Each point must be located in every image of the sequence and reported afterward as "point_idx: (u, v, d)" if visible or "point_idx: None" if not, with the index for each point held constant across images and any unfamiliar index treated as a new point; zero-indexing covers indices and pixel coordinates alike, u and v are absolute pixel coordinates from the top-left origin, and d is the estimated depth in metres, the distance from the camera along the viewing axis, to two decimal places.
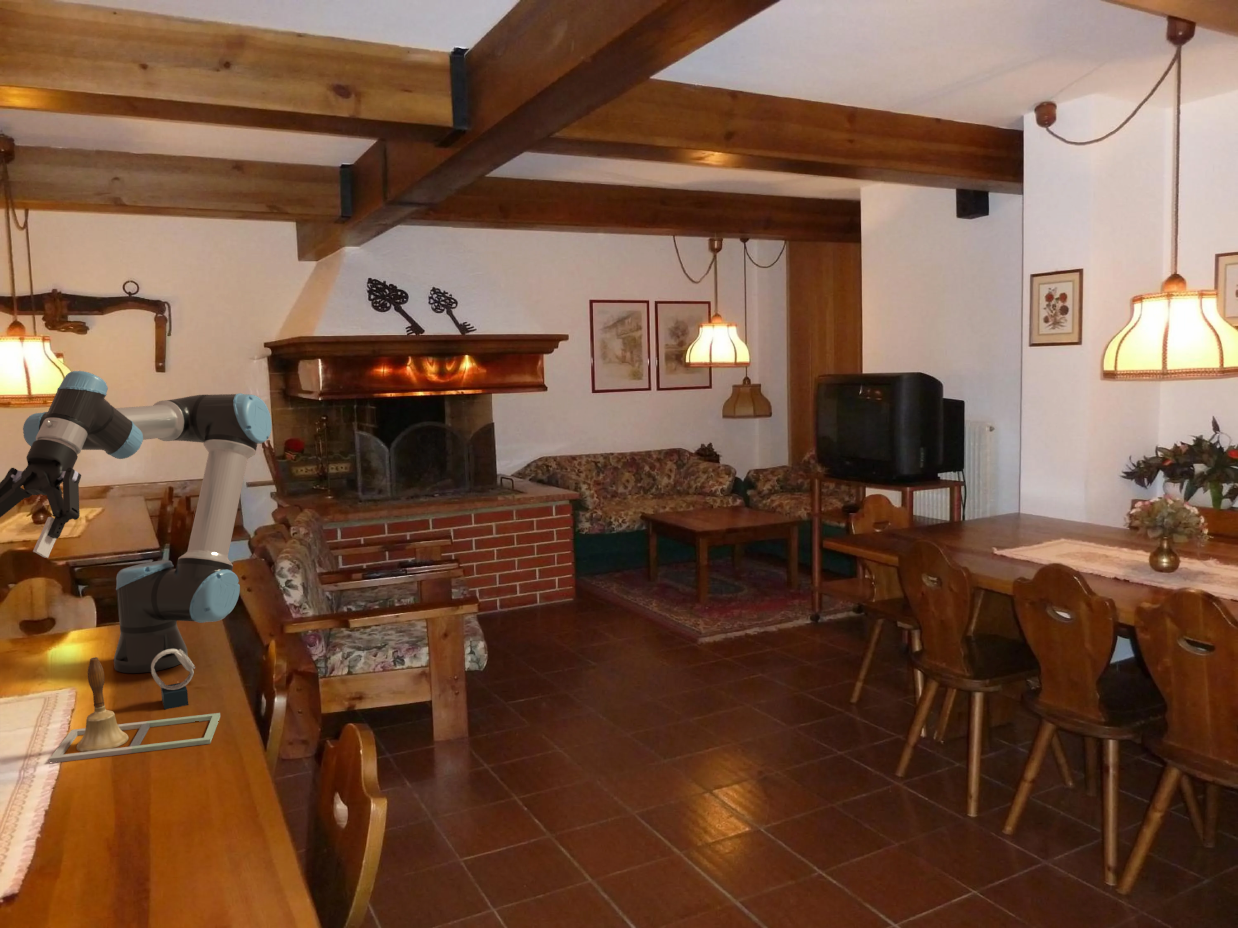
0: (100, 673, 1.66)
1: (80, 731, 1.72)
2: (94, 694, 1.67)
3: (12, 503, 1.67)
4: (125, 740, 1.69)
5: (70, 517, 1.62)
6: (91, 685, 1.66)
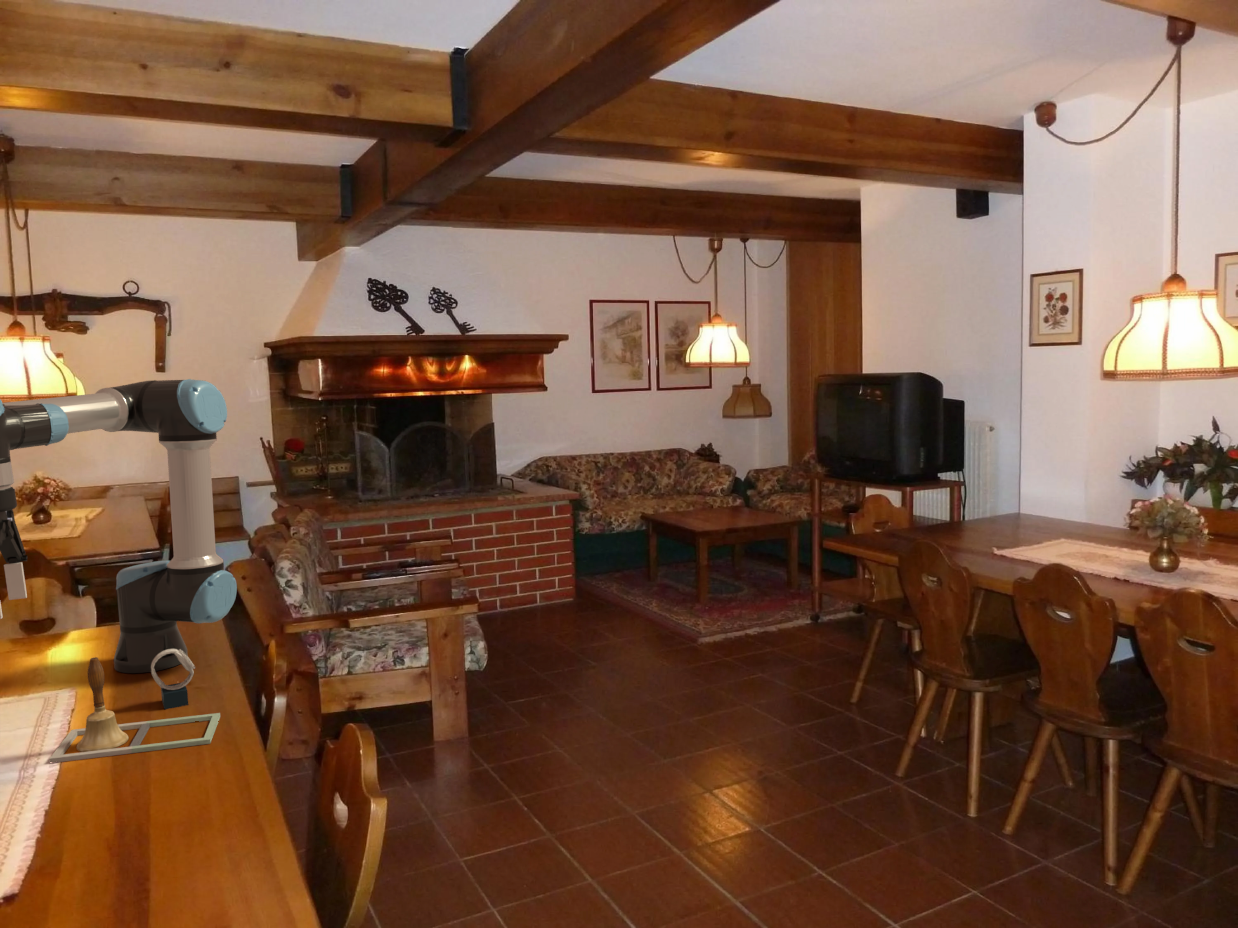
0: (100, 673, 1.66)
1: (80, 731, 1.72)
2: (94, 694, 1.67)
3: (9, 546, 1.65)
4: (125, 740, 1.69)
5: None
6: (91, 685, 1.66)
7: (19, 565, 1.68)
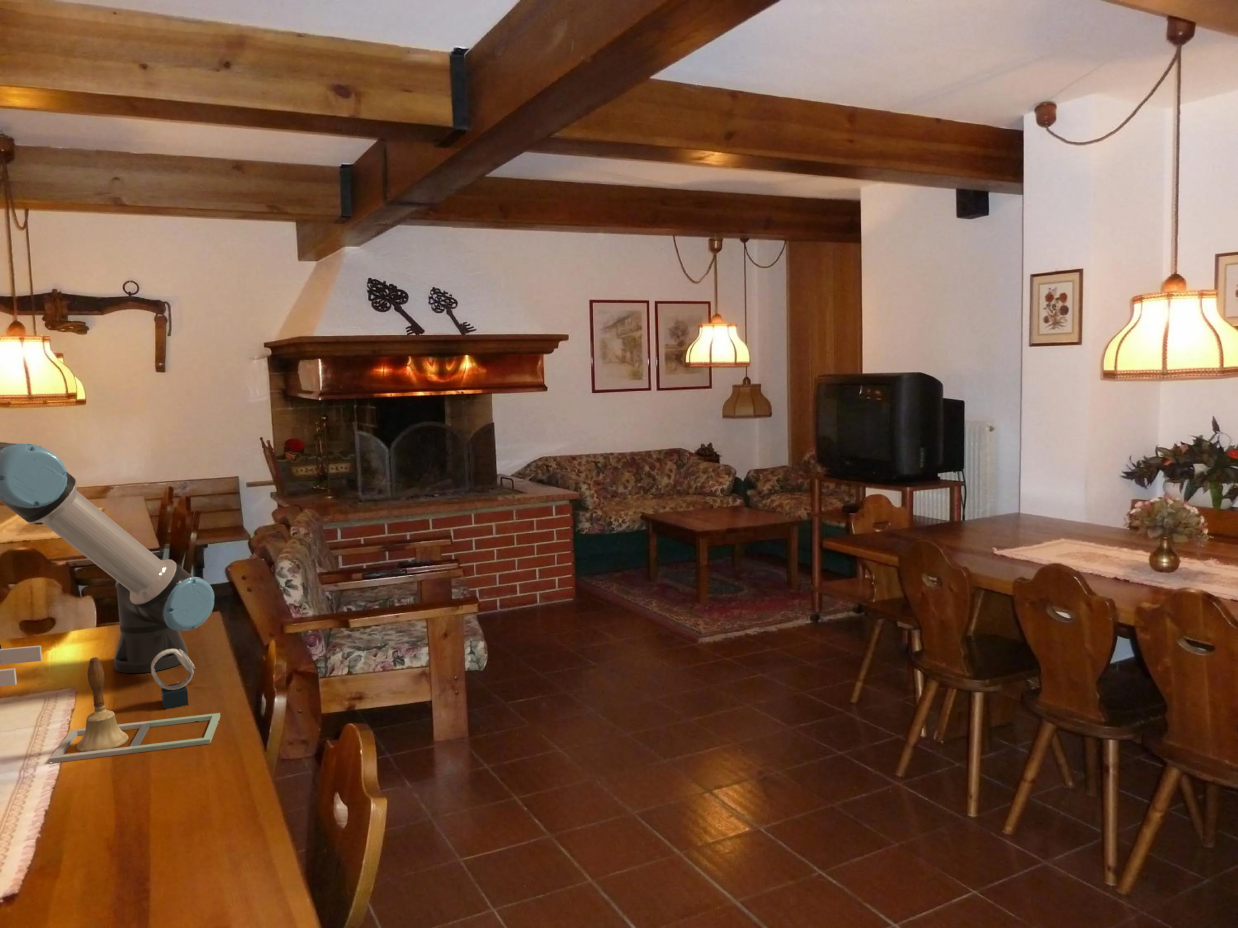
0: (100, 673, 1.66)
1: (80, 731, 1.72)
2: (94, 694, 1.67)
3: None
4: (125, 740, 1.69)
5: None
6: (91, 685, 1.66)
7: (1, 651, 1.68)
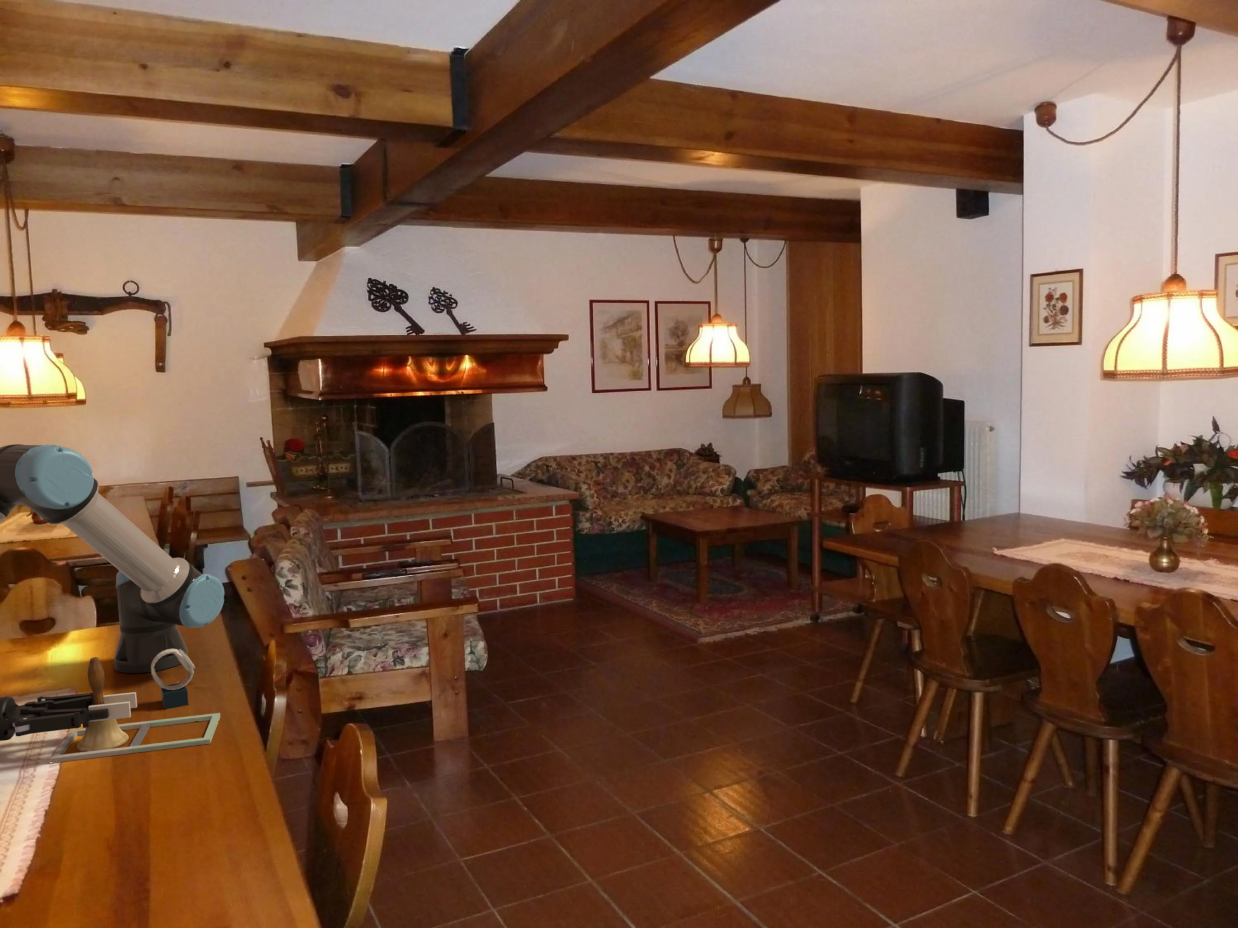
0: (100, 673, 1.66)
1: (80, 731, 1.72)
2: (94, 694, 1.67)
3: (67, 705, 1.68)
4: (125, 740, 1.69)
5: (81, 718, 1.62)
6: (91, 685, 1.66)
7: None
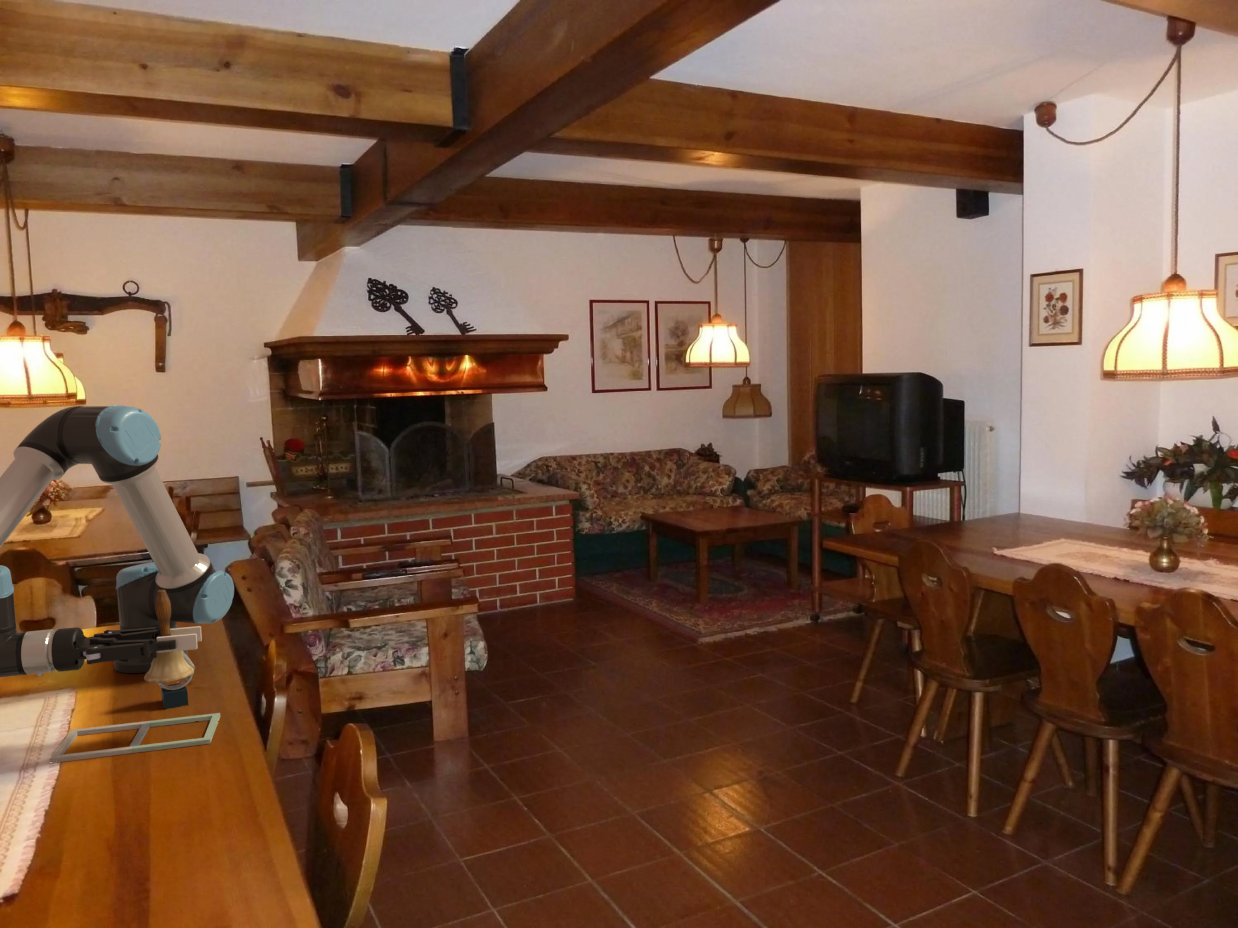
0: (167, 605, 1.68)
1: (80, 731, 1.72)
2: (161, 626, 1.68)
3: (134, 637, 1.70)
4: (191, 672, 1.70)
5: (150, 648, 1.64)
6: (159, 617, 1.68)
7: None
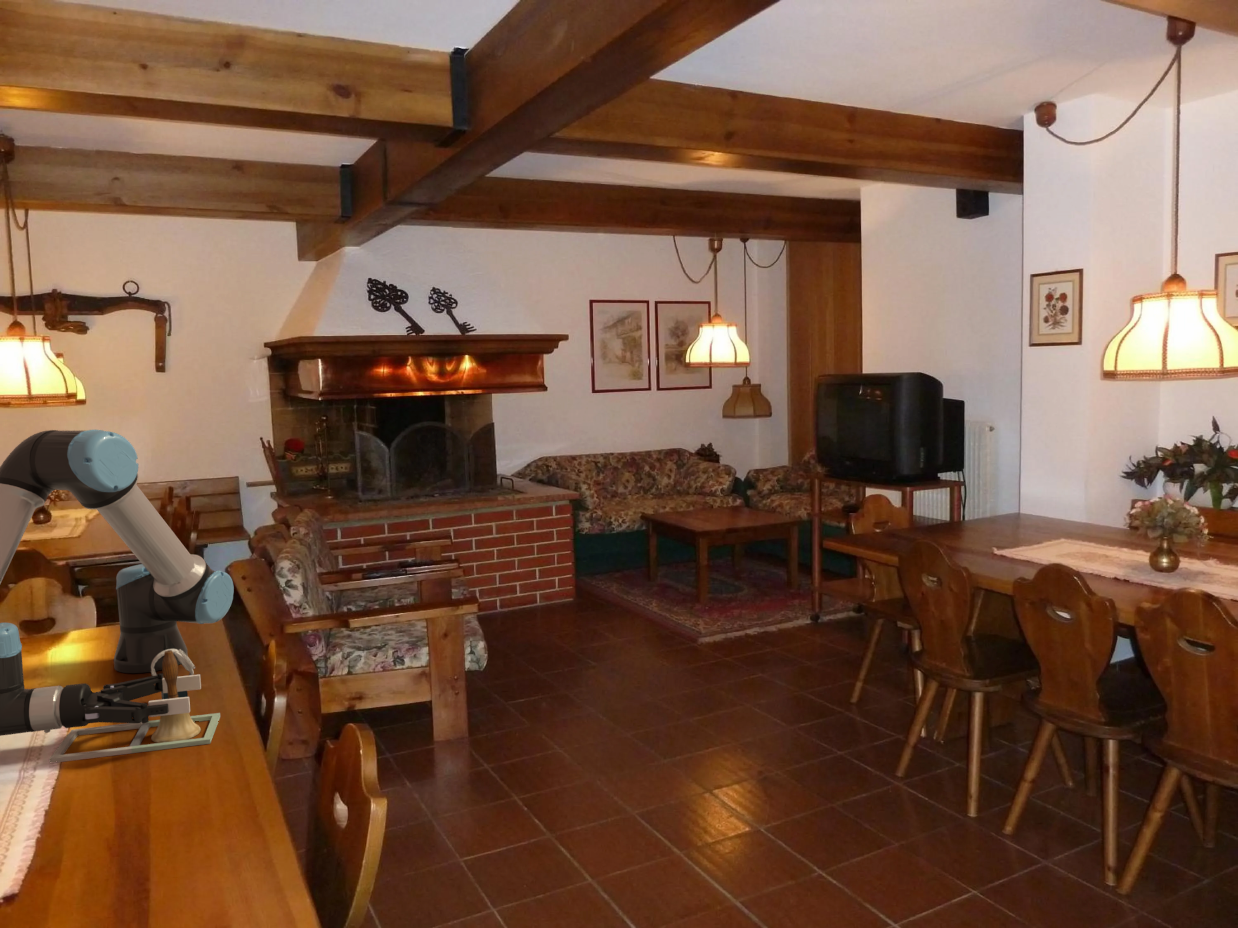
0: (174, 666, 1.70)
1: (80, 731, 1.72)
2: (168, 686, 1.70)
3: (139, 688, 1.73)
4: (198, 731, 1.72)
5: (141, 713, 1.61)
6: (166, 677, 1.69)
7: (164, 680, 1.76)
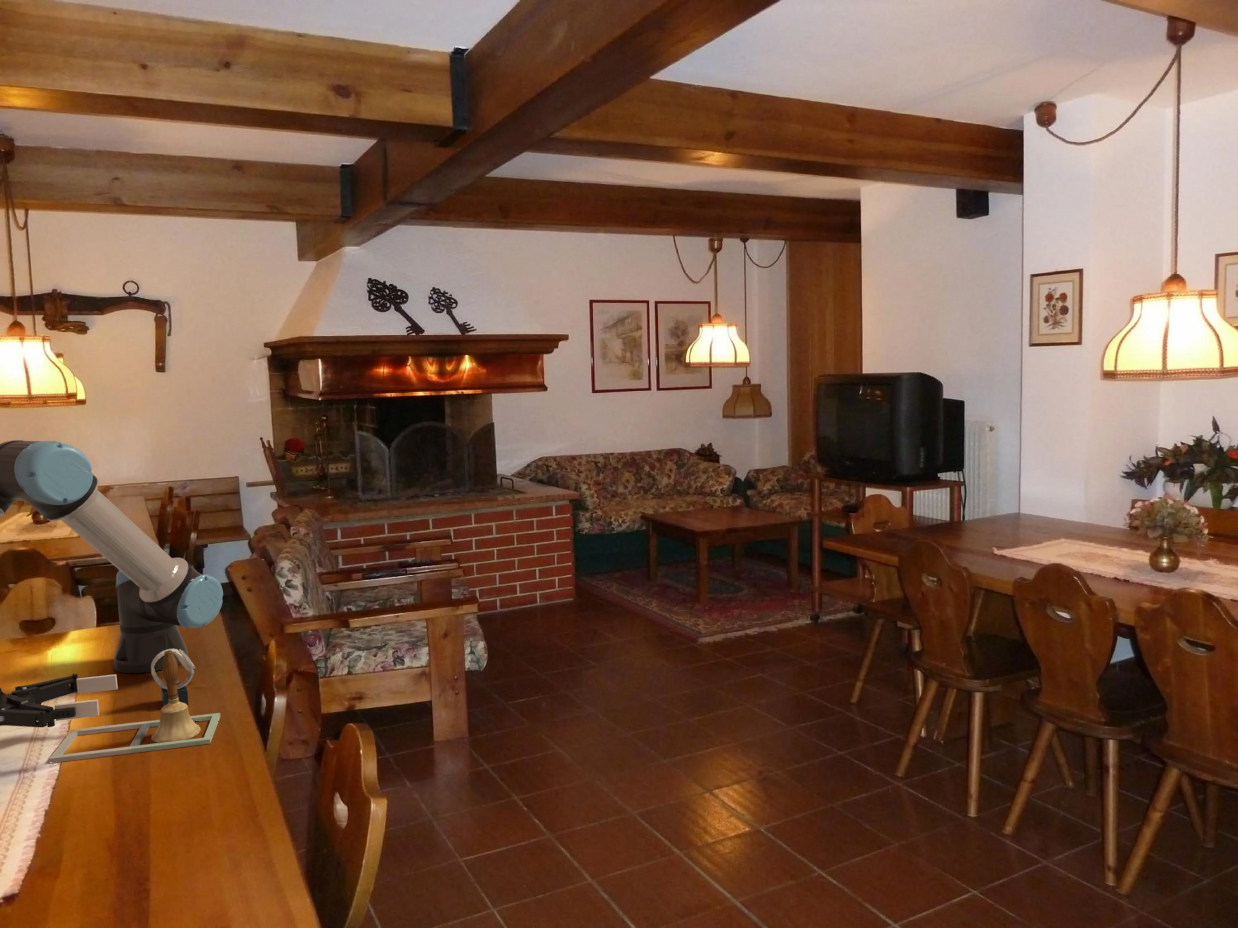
0: (174, 666, 1.70)
1: (80, 731, 1.72)
2: (168, 686, 1.70)
3: (52, 689, 1.70)
4: (198, 731, 1.72)
5: (46, 717, 1.57)
6: (166, 677, 1.69)
7: (79, 680, 1.72)
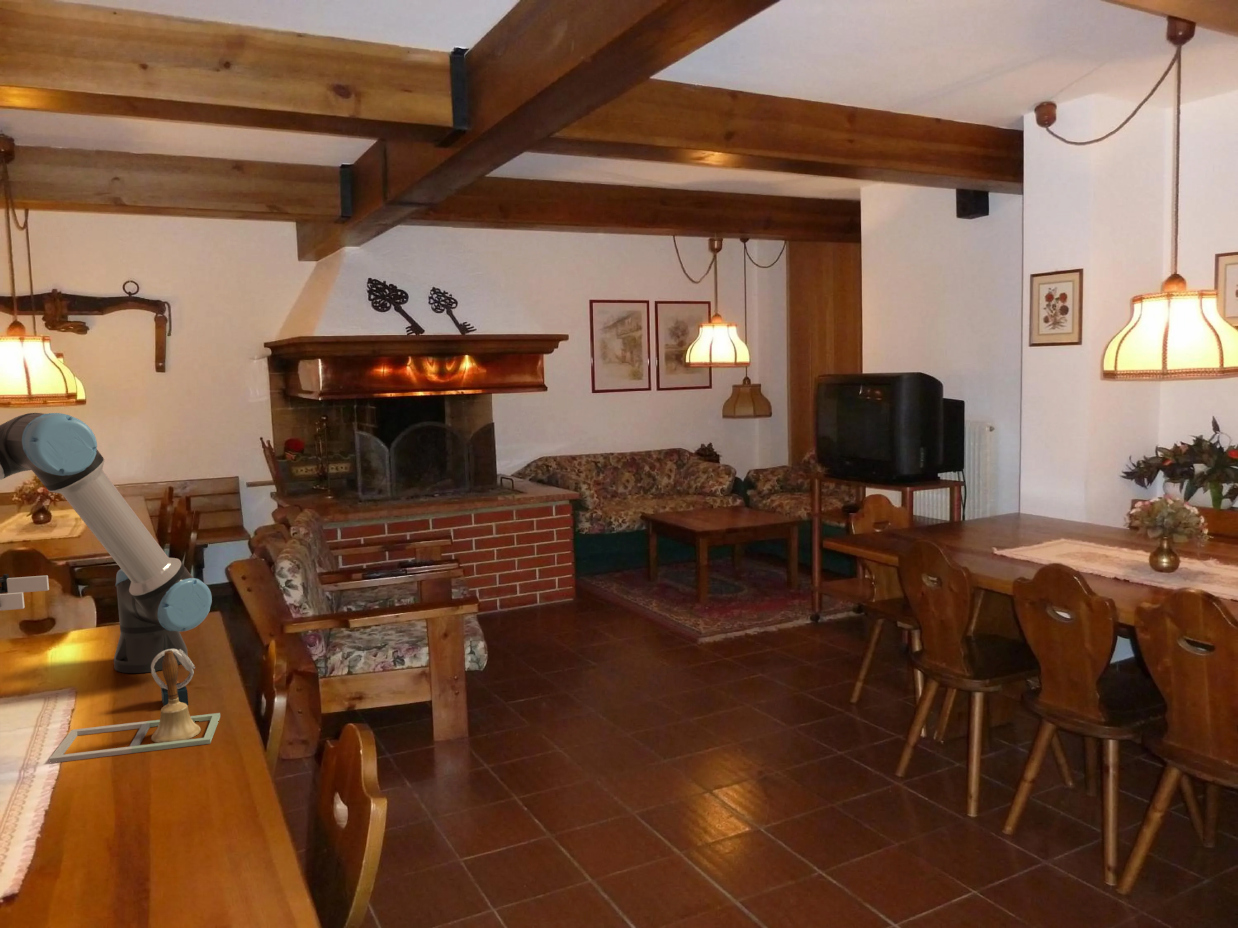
0: (174, 666, 1.70)
1: (80, 731, 1.72)
2: (168, 686, 1.70)
3: None
4: (198, 731, 1.72)
5: None
6: (166, 677, 1.69)
7: (9, 580, 1.71)
